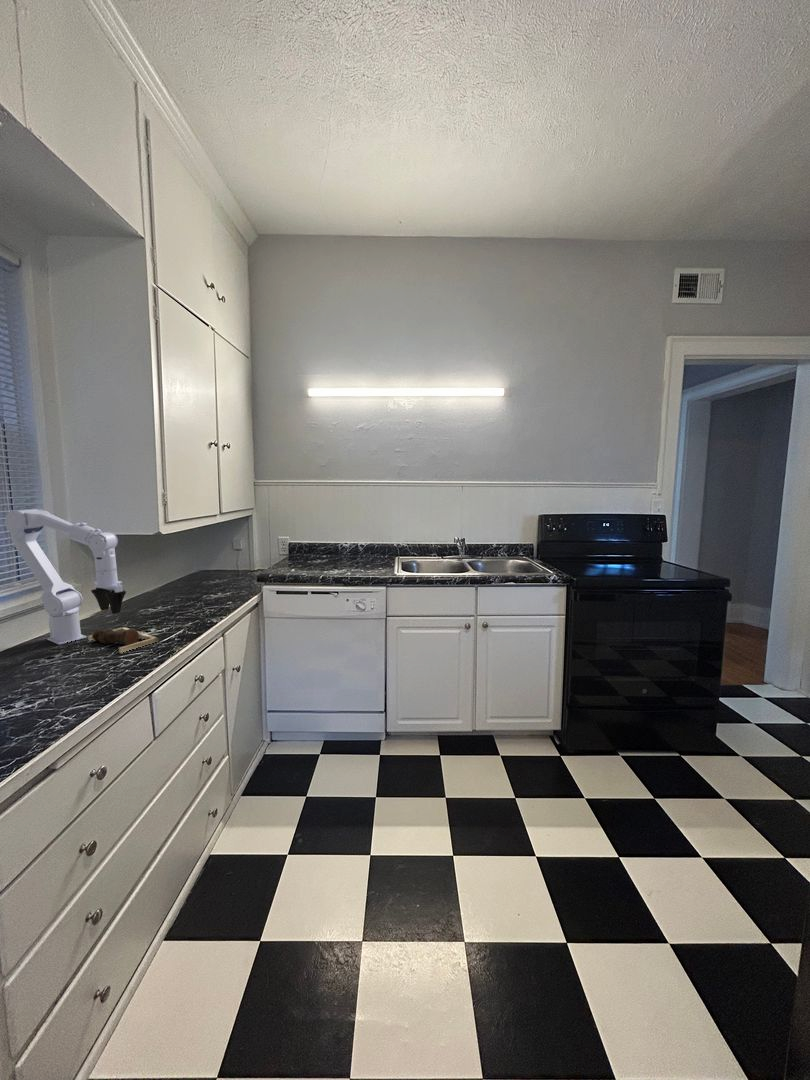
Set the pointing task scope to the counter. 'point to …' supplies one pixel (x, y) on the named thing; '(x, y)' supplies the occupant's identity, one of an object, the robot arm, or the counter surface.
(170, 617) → the counter surface
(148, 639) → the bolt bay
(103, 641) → the bolt
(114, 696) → the counter surface
